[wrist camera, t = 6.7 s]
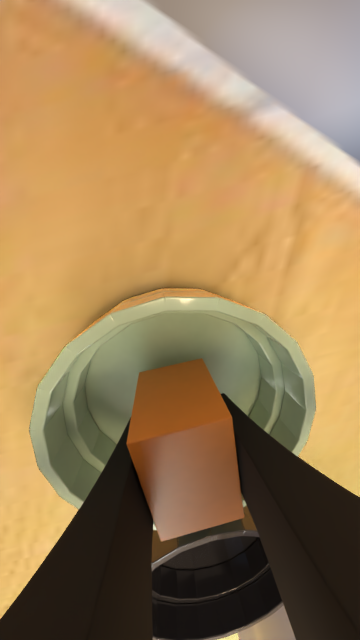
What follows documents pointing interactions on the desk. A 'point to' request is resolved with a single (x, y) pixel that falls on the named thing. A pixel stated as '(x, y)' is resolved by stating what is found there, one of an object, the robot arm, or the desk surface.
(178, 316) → the celadon bowl
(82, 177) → the desk surface
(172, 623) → the charcoal bowl
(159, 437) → the orange block
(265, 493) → the robot arm
